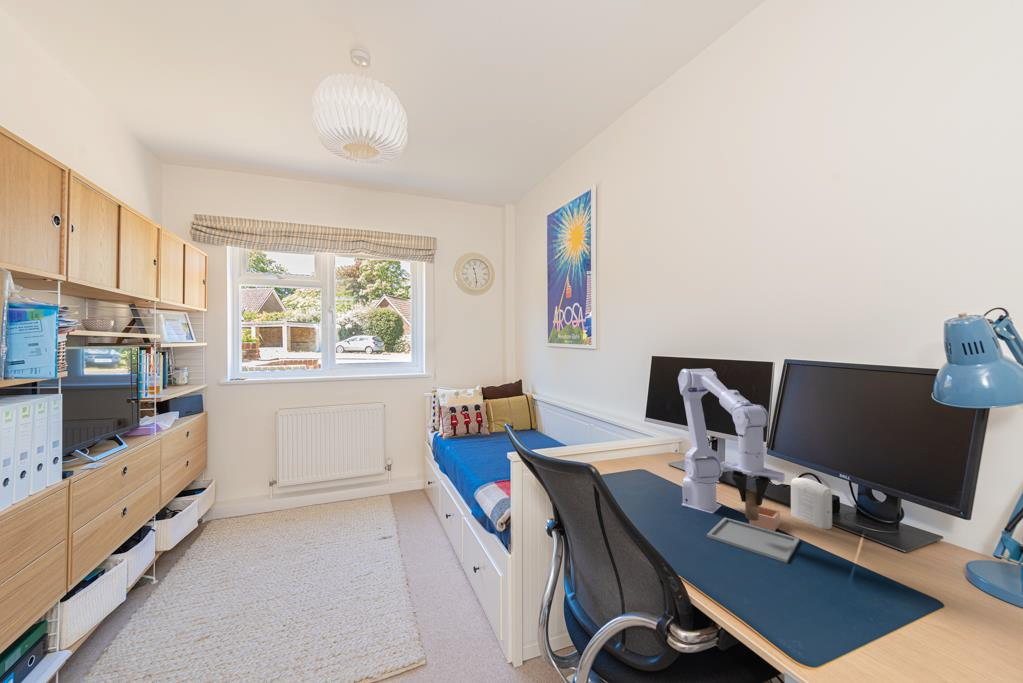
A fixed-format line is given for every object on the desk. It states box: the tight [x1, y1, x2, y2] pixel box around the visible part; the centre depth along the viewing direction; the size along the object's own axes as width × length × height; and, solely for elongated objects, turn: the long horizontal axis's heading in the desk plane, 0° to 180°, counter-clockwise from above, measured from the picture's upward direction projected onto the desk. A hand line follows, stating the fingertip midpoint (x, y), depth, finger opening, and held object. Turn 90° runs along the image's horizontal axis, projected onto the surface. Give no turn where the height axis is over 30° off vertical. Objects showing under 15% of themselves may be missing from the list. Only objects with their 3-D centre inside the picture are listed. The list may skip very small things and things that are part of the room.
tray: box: [706, 517, 800, 564], centre depth 105 cm, size 18×14×1 cm
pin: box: [744, 489, 759, 521], centre depth 105 cm, size 3×3×7 cm
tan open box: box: [748, 506, 781, 532], centre depth 113 cm, size 6×6×4 cm
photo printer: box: [790, 477, 833, 530], centre depth 114 cm, size 10×4×12 cm, turn 17°
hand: (751, 502), depth 105 cm, fingers closed on pin, 3 cm apart
